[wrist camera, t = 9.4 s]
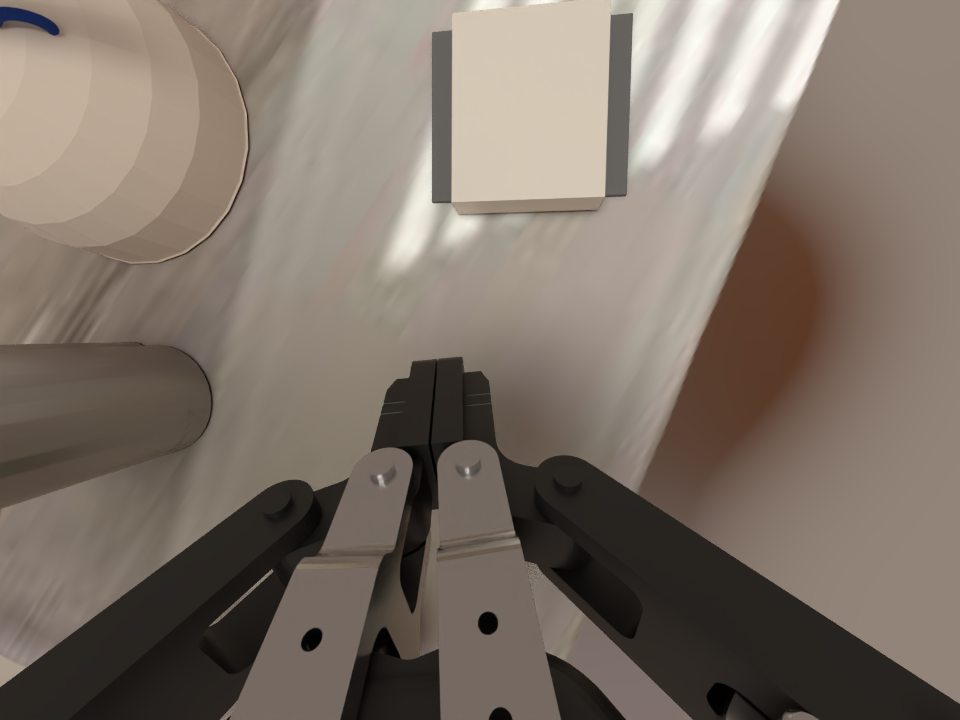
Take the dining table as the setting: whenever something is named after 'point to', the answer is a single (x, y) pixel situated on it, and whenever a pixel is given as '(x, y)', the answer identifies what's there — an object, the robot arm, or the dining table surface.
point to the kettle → (116, 127)
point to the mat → (615, 119)
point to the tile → (530, 107)
